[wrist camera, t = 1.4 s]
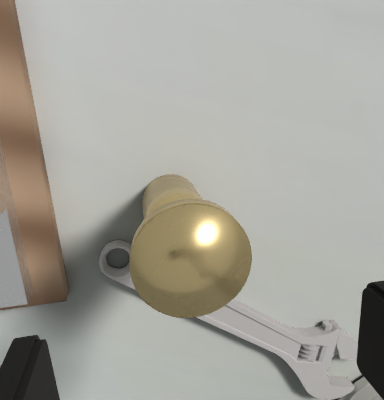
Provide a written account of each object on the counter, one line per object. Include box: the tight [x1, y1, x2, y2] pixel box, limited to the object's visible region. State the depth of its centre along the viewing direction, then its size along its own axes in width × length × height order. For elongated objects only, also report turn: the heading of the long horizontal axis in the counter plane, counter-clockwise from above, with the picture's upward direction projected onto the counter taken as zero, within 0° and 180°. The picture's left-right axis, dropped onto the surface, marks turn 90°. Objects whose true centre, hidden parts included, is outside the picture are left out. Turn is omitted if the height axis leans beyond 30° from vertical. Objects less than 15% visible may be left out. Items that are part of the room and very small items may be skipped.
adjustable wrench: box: [99, 240, 358, 400], centre depth 29 cm, size 25×6×2 cm, turn 53°
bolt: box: [130, 175, 252, 318], centre depth 21 cm, size 6×6×10 cm
